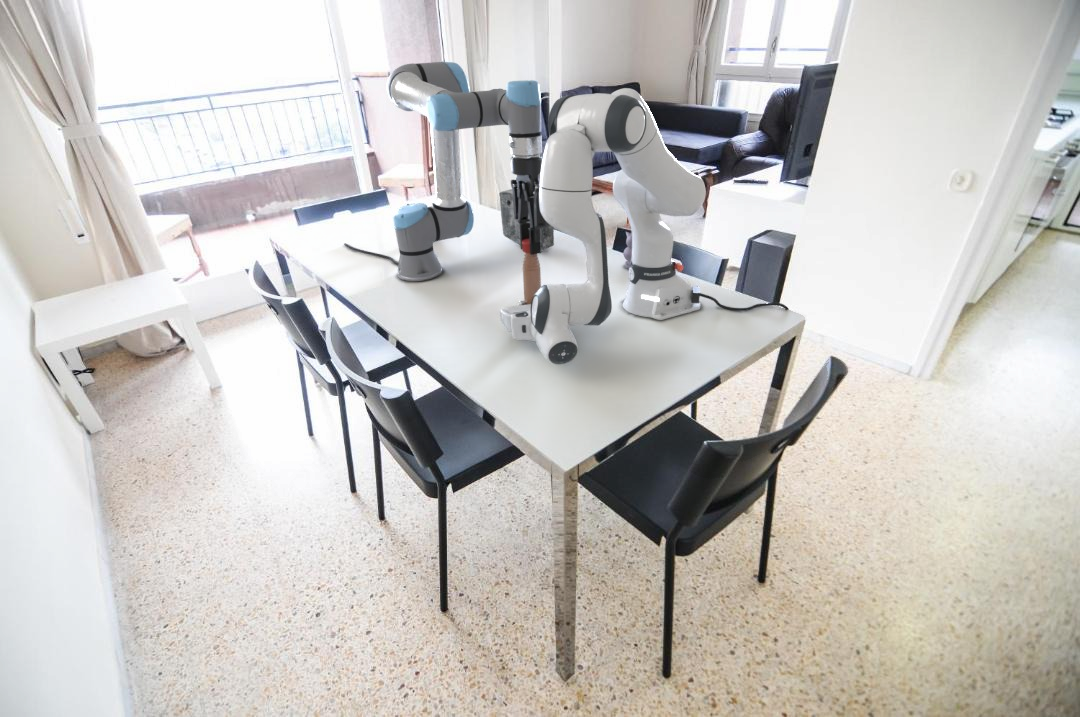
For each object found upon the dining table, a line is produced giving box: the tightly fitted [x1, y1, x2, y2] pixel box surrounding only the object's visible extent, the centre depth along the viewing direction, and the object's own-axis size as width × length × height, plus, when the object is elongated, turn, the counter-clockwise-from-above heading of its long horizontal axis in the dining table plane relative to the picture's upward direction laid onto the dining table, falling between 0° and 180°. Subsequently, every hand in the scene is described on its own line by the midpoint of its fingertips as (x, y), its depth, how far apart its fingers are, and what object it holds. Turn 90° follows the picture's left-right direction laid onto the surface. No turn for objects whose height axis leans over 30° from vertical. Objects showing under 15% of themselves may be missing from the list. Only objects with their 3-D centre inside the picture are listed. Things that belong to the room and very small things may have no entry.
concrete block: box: [498, 188, 555, 252], centre depth 192 cm, size 27×9×20 cm, turn 36°
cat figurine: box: [622, 231, 632, 270], centre depth 172 cm, size 8×8×12 cm
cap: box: [521, 238, 530, 254], centre depth 129 cm, size 4×4×3 cm
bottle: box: [522, 252, 542, 305], centre depth 134 cm, size 5×5×24 cm
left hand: (530, 250), depth 129 cm, fingers closed on cap, 4 cm apart
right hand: (532, 301), depth 138 cm, fingers closed on bottle, 5 cm apart
